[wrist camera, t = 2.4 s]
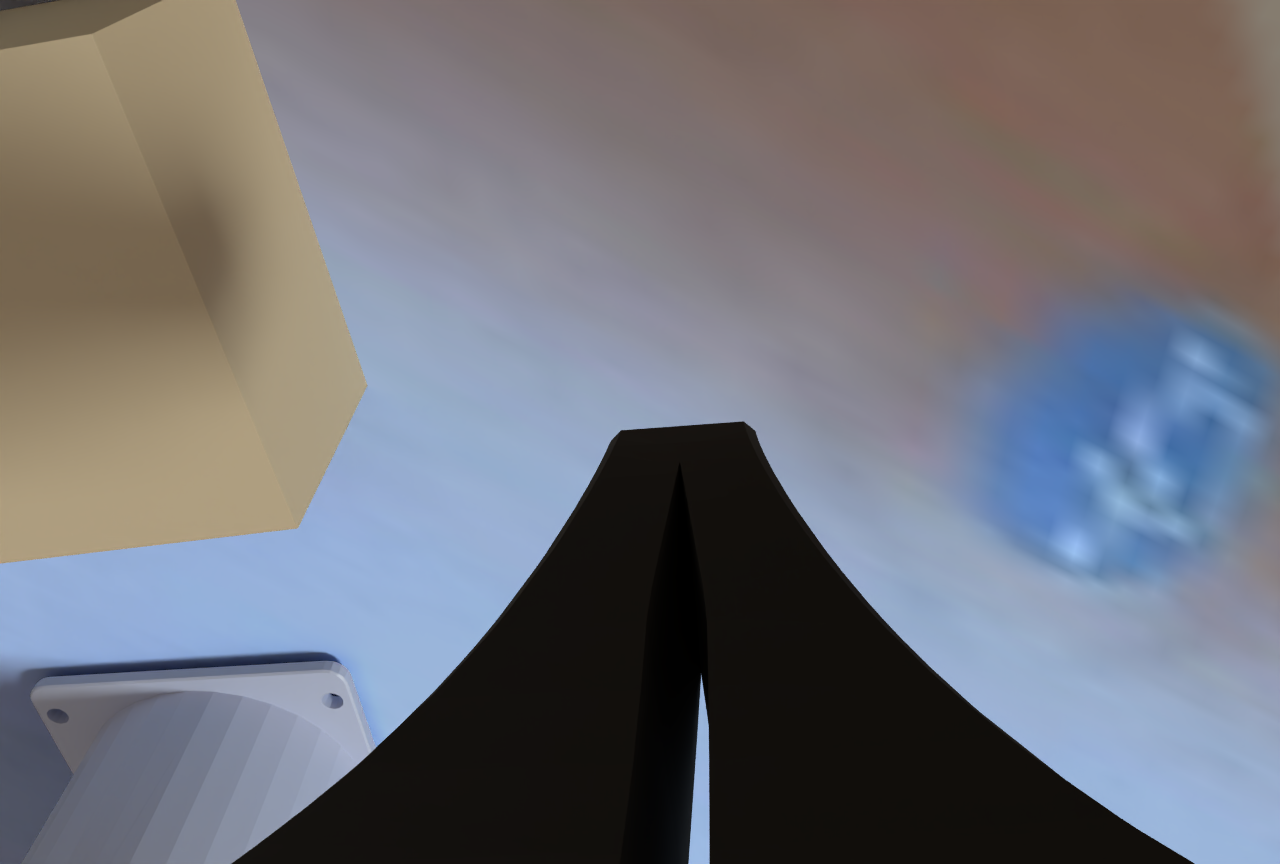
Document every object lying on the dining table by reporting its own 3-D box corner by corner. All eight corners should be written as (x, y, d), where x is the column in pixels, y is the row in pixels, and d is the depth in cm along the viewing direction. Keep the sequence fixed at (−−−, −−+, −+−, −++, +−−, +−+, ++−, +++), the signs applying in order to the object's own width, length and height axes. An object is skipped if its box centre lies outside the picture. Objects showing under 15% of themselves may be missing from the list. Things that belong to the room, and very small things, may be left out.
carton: (370, 382, 22) (299, 530, 18) (13, 430, 23) (-137, 582, 19) (228, -35, 18) (90, 29, 14) (-204, 42, 19) (-460, 125, 14)
